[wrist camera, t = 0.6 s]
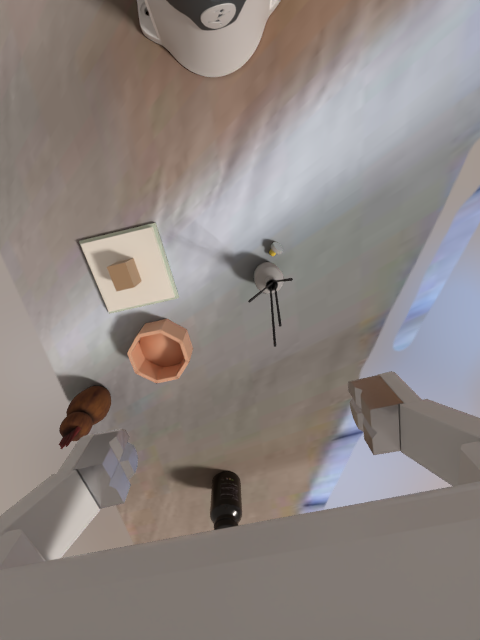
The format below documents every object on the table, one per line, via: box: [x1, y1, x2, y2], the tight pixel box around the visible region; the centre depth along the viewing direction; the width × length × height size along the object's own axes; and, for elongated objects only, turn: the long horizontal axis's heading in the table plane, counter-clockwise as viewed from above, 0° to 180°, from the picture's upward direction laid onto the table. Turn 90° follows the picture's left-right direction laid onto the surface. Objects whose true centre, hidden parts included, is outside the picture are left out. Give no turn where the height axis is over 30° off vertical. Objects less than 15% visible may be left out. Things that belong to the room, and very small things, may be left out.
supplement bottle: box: [210, 472, 242, 530], centre depth 63 cm, size 7×7×12 cm
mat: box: [79, 223, 179, 314], centre depth 50 cm, size 13×13×1 cm
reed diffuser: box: [249, 242, 293, 347], centre depth 41 cm, size 10×7×20 cm
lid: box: [81, 227, 175, 312], centre depth 47 cm, size 12×12×5 cm
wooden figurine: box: [59, 386, 111, 449], centre depth 52 cm, size 7×6×15 cm
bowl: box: [127, 319, 193, 383], centre depth 53 cm, size 10×10×5 cm
